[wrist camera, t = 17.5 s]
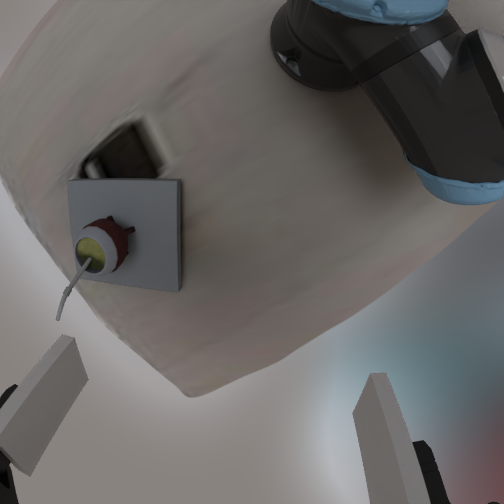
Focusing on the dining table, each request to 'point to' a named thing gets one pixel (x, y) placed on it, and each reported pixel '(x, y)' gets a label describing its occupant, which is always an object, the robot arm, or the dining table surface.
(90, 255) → the mate gourd
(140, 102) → the dining table surface
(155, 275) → the riser
